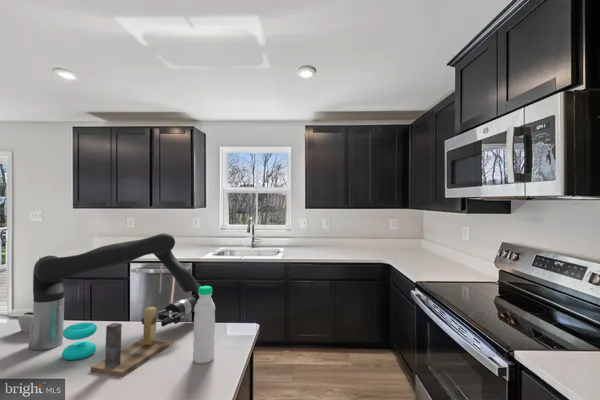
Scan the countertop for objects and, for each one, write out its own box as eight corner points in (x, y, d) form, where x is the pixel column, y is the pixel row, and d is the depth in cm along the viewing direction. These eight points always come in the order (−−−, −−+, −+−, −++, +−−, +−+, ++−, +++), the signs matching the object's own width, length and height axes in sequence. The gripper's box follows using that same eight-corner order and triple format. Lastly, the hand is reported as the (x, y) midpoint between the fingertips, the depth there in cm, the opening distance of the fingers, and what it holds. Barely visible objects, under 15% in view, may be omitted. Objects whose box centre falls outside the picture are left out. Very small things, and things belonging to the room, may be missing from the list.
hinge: (62, 331, 134) (54, 311, 131) (50, 339, 129) (42, 318, 126) (34, 326, 139) (26, 306, 136) (22, 334, 134) (13, 313, 131)
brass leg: (148, 341, 121) (149, 306, 121) (155, 342, 120) (156, 307, 121) (143, 344, 118) (144, 309, 118) (150, 345, 117) (151, 309, 118)
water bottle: (218, 356, 113) (219, 285, 114) (206, 366, 106) (207, 290, 107) (201, 353, 115) (203, 283, 116) (188, 362, 109) (190, 288, 109)
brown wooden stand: (142, 342, 124) (143, 304, 124) (169, 346, 121) (170, 307, 121) (90, 371, 101) (92, 325, 102) (122, 377, 99) (123, 329, 99)
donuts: (83, 320, 120) (103, 323, 117) (82, 347, 119) (102, 351, 116) (55, 329, 110) (77, 333, 107) (54, 359, 110) (76, 363, 107)
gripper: (163, 299, 138) (136, 311, 122) (193, 302, 135) (169, 314, 119) (163, 317, 138) (135, 330, 122) (192, 320, 135) (168, 334, 119)
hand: (152, 322), depth 121 cm, fingers open, 8 cm apart
